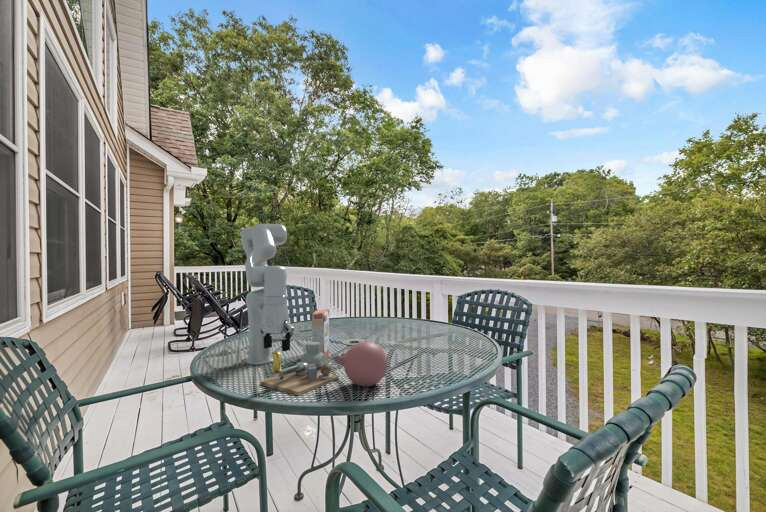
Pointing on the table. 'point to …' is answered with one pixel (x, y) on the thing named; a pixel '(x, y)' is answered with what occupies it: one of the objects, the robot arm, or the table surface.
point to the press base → (300, 381)
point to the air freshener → (314, 354)
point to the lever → (283, 372)
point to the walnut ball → (325, 369)
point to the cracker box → (321, 329)
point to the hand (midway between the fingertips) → (276, 349)
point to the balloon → (363, 363)
